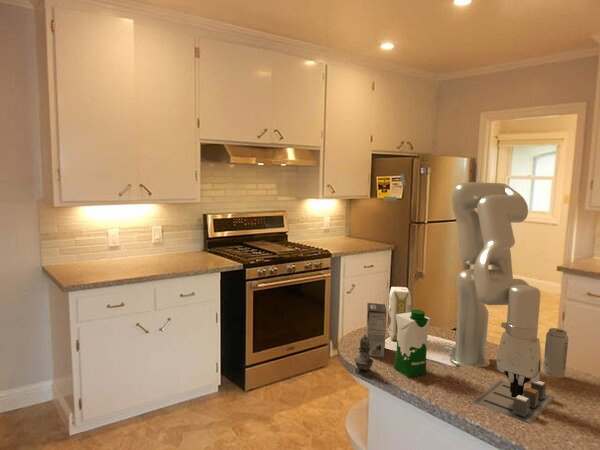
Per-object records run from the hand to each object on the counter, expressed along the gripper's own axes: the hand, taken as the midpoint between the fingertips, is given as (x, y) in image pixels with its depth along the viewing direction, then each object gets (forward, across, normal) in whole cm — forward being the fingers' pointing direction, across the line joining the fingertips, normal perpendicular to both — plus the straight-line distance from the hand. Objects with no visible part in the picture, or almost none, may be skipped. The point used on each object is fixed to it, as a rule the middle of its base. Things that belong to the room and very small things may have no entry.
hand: (516, 396), depth 123 cm
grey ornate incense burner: (+3, -41, -14) cm, 43 cm away
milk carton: (+3, -31, -3) cm, 31 cm away
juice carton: (+3, -50, +20) cm, 54 cm away
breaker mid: (+1, +4, 0) cm, 4 cm away
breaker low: (+1, +4, -6) cm, 7 cm away
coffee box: (+3, -48, +2) cm, 48 cm away
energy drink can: (+3, +2, +27) cm, 27 cm away
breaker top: (+1, +3, +7) cm, 8 cm away
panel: (+2, -1, 0) cm, 2 cm away
